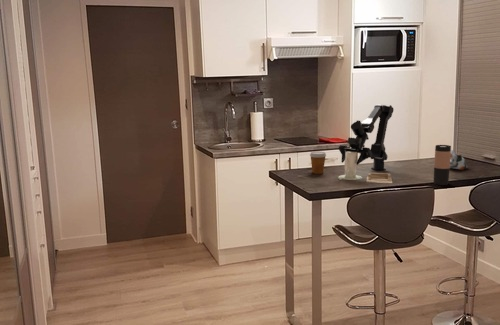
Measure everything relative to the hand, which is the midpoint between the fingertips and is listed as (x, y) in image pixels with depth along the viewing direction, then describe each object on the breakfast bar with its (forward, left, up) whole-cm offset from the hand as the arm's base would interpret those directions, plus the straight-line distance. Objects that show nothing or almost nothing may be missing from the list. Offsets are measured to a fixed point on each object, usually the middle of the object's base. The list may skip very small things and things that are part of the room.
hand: (349, 163), depth 259 cm
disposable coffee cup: (-23, -7, -9) cm, 26 cm away
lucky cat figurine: (-1, +74, -9) cm, 74 cm away
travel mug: (+27, +39, -9) cm, 48 cm away
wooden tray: (+11, +12, -9) cm, 19 cm away
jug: (0, 0, -8) cm, 8 cm away
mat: (-1, +1, -9) cm, 9 cm away
